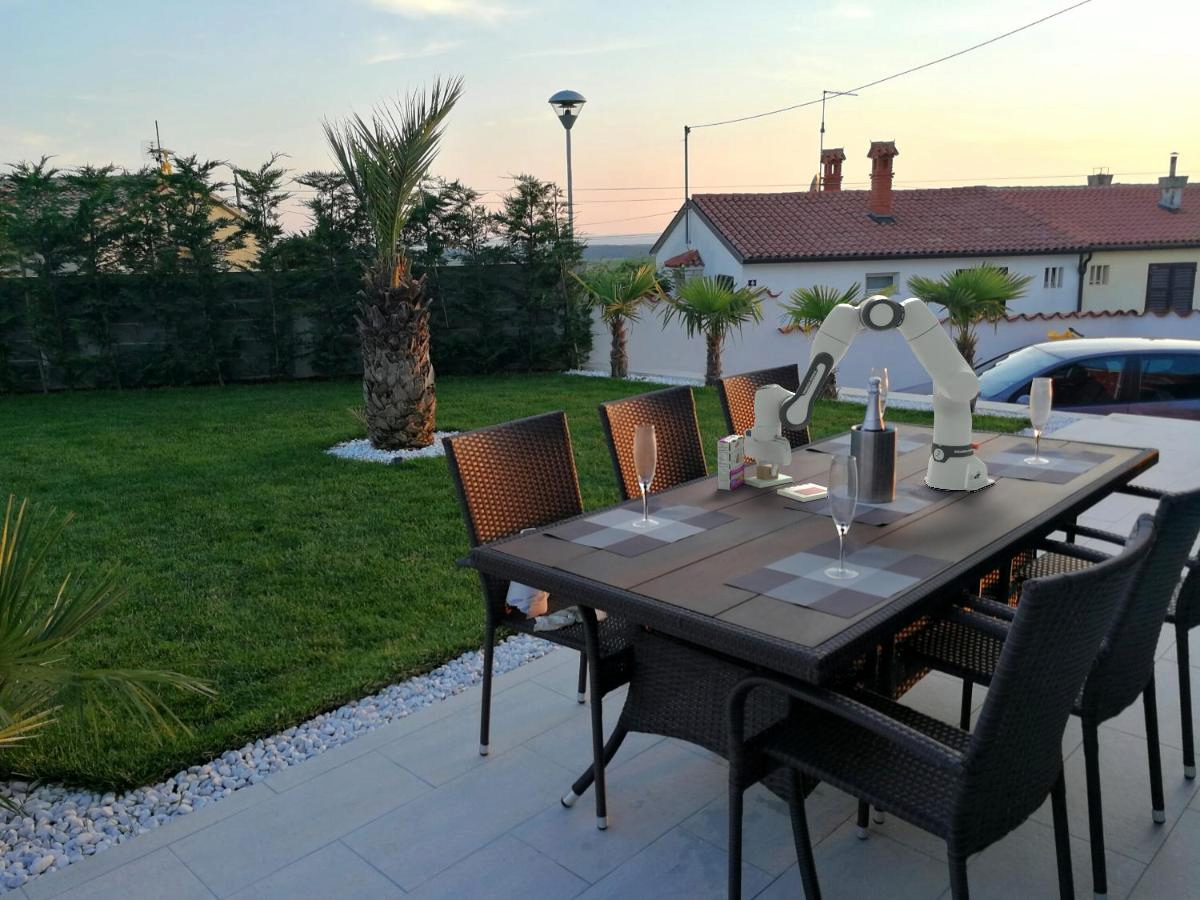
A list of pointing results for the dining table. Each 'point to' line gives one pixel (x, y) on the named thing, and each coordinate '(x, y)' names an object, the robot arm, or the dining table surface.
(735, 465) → the candy bar box
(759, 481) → the stub
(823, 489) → the board
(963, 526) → the dining table surface
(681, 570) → the dining table surface
